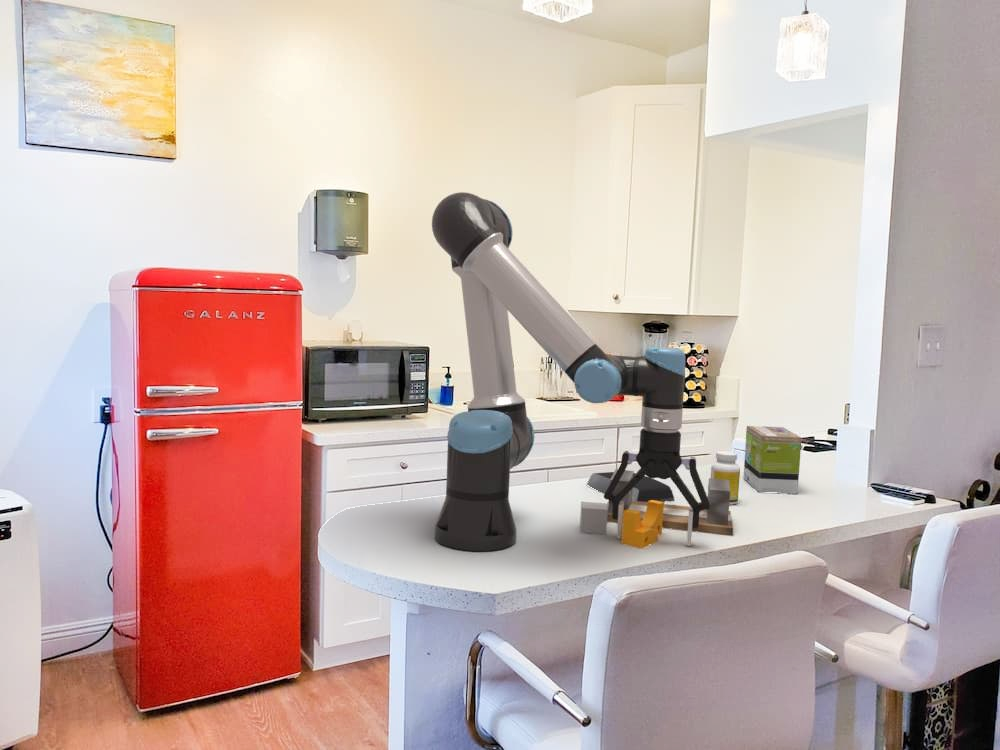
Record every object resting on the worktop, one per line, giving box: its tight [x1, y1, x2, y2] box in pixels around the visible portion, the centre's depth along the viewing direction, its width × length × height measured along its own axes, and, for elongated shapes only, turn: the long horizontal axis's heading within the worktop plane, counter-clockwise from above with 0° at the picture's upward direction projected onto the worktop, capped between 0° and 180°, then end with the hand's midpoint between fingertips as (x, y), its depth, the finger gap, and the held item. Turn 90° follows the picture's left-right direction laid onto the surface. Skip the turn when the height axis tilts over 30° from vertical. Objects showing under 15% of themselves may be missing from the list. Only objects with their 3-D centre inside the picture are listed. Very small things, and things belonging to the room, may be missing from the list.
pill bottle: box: [710, 450, 741, 506], centre depth 185 cm, size 6×6×12 cm
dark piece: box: [586, 471, 676, 503], centre depth 190 cm, size 13×19×4 cm
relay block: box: [579, 501, 608, 535], centre depth 157 cm, size 5×5×5 cm
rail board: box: [606, 468, 734, 536], centre depth 167 cm, size 26×14×8 cm, turn 76°
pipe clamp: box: [621, 500, 665, 549], centre depth 153 cm, size 12×4×6 cm, turn 143°
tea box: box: [743, 425, 802, 495], centre depth 203 cm, size 15×10×15 cm, turn 178°
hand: (653, 540), depth 152 cm, fingers open, 12 cm apart
